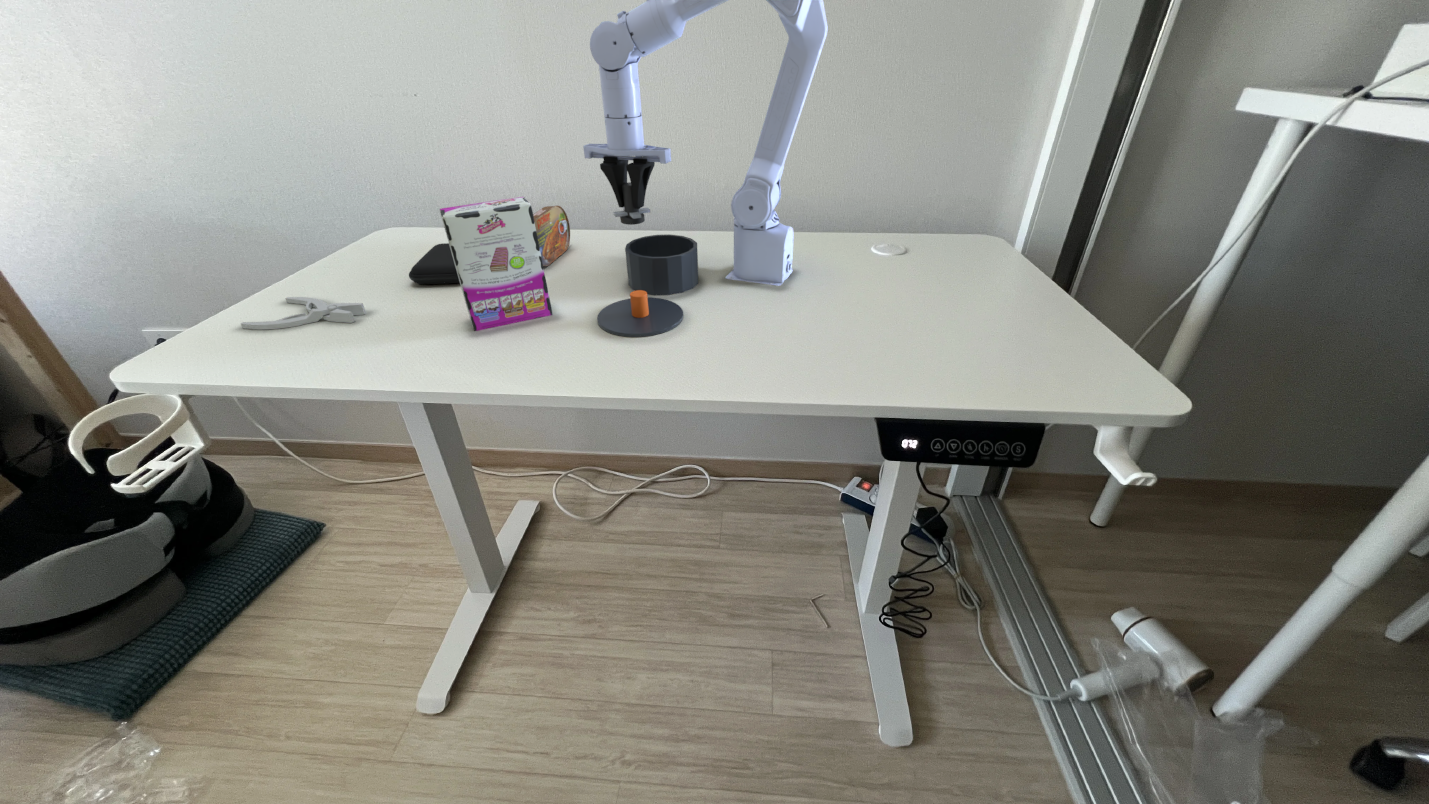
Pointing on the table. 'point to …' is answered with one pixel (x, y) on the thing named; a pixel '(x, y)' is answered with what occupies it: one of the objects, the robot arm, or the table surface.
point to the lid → (640, 316)
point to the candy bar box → (498, 261)
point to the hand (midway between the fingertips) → (631, 206)
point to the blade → (630, 208)
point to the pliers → (312, 314)
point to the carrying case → (435, 267)
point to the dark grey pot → (662, 264)
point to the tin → (552, 232)
